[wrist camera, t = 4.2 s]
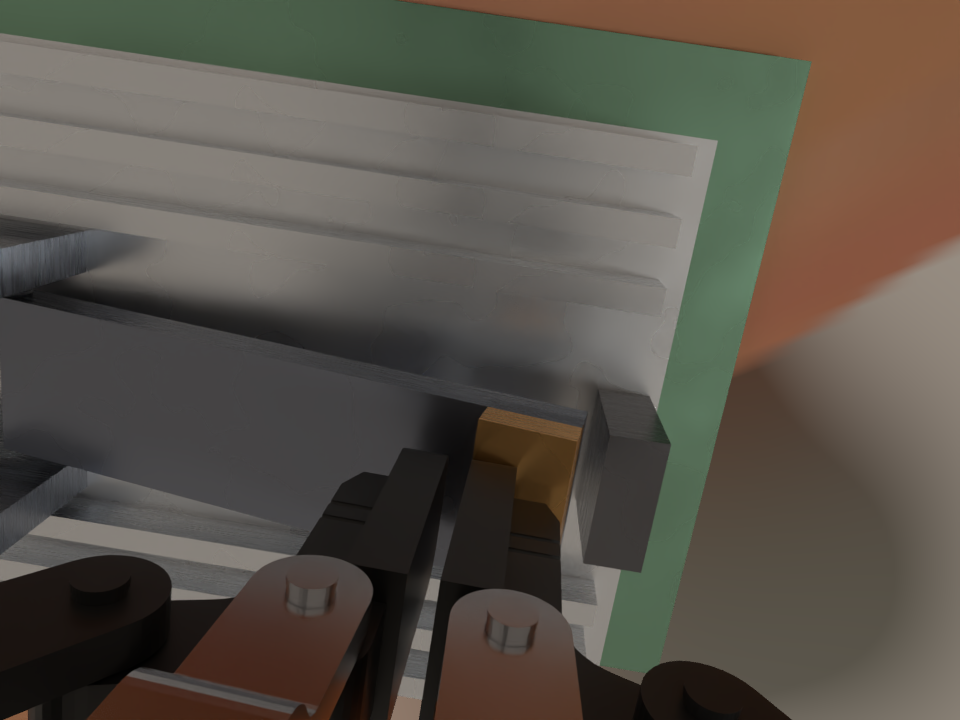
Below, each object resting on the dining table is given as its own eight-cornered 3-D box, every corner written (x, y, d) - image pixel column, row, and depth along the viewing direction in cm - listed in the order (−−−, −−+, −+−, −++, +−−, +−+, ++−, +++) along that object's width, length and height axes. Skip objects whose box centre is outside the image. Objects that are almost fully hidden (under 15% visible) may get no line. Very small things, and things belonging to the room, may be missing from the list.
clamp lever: (8, 432, 16) (-59, 459, 14) (1, 270, 15) (-70, 282, 13) (554, 578, 13) (540, 627, 12) (591, 397, 12) (580, 429, 11)
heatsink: (-25, -58, 17) (-405, -190, 10) (802, 63, 17) (994, 12, 10) (2, 552, 22) (-249, 749, 15) (653, 660, 22) (711, 915, 15)
